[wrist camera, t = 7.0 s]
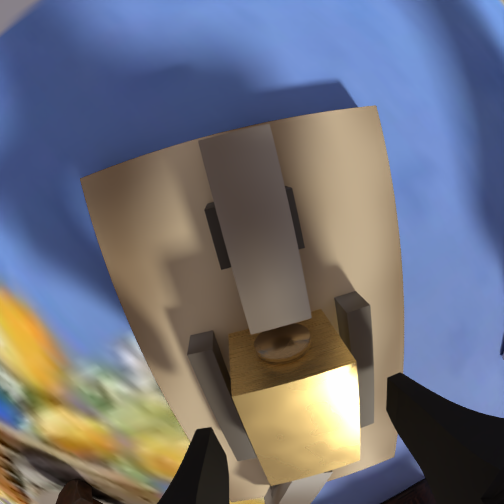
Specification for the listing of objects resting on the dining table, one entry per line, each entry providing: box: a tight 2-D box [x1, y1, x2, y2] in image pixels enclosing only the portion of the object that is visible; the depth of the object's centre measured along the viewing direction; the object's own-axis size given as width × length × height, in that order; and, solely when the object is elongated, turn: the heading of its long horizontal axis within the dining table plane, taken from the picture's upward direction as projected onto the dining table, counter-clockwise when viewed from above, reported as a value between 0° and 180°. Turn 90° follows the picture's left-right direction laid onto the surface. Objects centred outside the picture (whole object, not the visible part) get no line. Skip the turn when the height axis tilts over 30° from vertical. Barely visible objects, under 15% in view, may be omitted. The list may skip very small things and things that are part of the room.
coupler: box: [228, 309, 360, 486], centre depth 12 cm, size 4×7×4 cm, turn 14°
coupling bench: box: [80, 106, 404, 504], centre depth 13 cm, size 12×22×4 cm, turn 14°
